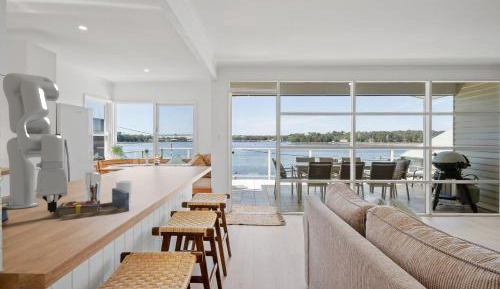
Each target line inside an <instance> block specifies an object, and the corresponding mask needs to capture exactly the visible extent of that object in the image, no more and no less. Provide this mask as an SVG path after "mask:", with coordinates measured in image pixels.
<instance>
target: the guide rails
mask: <svg viewBox="0 0 500 289" xmlns="http://www.w3.org/2000/svg"><path fill="white" fill-rule="evenodd" d="M111 200H112V201H111V202H104V203H100V204H101V205H100V206H101V207H102V208H109V206H110V207H115V208H109V209H104V210H103V209H102V208H101V207H100V208H101V209H102V210H100V211H94V212H86V213H78V214H71V215H63V216H61V221H67V220H73V219H83V218H89V217H90V218H91V217H96V216H95V215H97V216H103V214H104V215H110V214H118V213H124V212H125V213H126V212H130V202H129V192H126V191H123V190H120V189H117V188H116V187H115V188H111ZM52 213H53V214H54V215H55V214H59V209H57V210H55V212H52Z"/></svg>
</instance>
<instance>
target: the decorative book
mask: <svg viewBox="0 0 500 289" xmlns="http://www.w3.org/2000/svg"><path fill="white" fill-rule="evenodd" d="M101 204H102V203H101V200H100V201H93V200H91V201H87V200H86V201H68V202H62V203H61V204H60V205H57V209H59V213H58V214H57V216H56V218H57V219H59V218H60V217H61V216H63V215H71V214H78V213H86V212H94V211H101V210H103V209H102V208H100V207H101V206H100V205H101Z"/></svg>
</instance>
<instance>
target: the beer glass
mask: <svg viewBox="0 0 500 289" xmlns="http://www.w3.org/2000/svg"><path fill="white" fill-rule="evenodd" d="M84 176H85V177H84V186H85V191H86V201H91V200H93V201H100V202H101V199H100V194H101V187H102V175H101V172H99V171H93V172H89V171H88V172H85V175H84Z"/></svg>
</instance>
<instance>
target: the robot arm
mask: <svg viewBox="0 0 500 289" xmlns="http://www.w3.org/2000/svg"><path fill="white" fill-rule="evenodd" d="M4 76H5V75H4ZM2 90H3V93H4V96H5V98H6V101H7V105H8V122H9V129H10V131H11V133H13V134H16V137H12V138H10V139H9V140H7V141H6V152H7V157H8V166H9V167H8V171H9V172H8V174H9V196H8V197H7V198H3V199H2V198H1V199H2V204H1V205H4V204H5V208H6V209H27V208H33V207H36V206H39V205H40V204H39V203H40V202H39V201H36V200H35V199H38V200H44V201H45V202H47V211H49V213H53V212H55V210H57V207H58V205H57V204H58V203H57V202H58V201H60V199H62V198H65V197H66V196H68V179H67V171H66V168H63V167H64V166H63V165H64V164H63V161H64V160H63V159H64V157H63V154H64V153H63V152H64V151H63V150H64V149H63V148H64V147H63V146H64V145H63V143H64V142H63V140H64V139H63V136H61V135H60V134H52V127H51V121H50V119H49V117H48V115H49V114H50V111H49V106H48V103H47V102H55V101H57V100H58V99H59V97H60V88H59V86H58V84H56V82H54V81H53V80H51V79H50V78H48V77H45V76H39V75H34V74H33V75H32V74H28V73H27V74H25V73H19V72H18V73H15V72H14V73H7V74H6V76H5V77H3V79H2ZM31 158H40V162H39V163H36V168H40V169H39V170H38V171H37V178H36V182H35V173H36V172H35V166H34V164H33V162H31V161H30V160H29V159H31ZM35 184H36V186H35ZM35 189H36V190H35ZM35 192H36V195H35ZM51 196H53V198H51ZM35 197H36V198H35Z"/></svg>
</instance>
